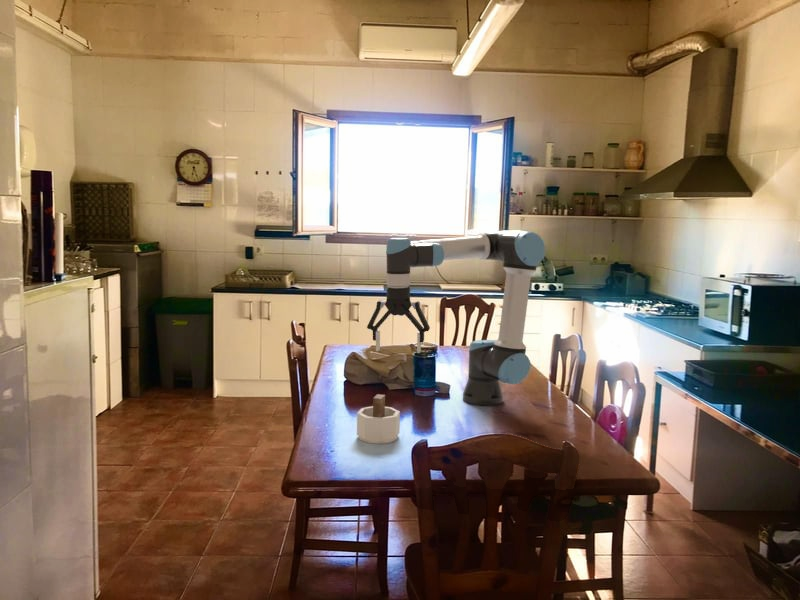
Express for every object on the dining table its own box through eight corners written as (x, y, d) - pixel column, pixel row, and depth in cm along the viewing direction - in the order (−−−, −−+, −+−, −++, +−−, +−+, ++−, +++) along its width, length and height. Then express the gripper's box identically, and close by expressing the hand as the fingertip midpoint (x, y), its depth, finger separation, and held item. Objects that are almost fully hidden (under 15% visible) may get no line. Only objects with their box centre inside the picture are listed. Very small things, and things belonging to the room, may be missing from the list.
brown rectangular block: (384, 431, 205) (385, 394, 204) (380, 436, 201) (381, 398, 199) (376, 430, 206) (377, 394, 204) (372, 435, 201) (373, 398, 200)
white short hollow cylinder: (401, 432, 208) (402, 408, 207) (393, 445, 196) (393, 420, 195) (364, 428, 211) (364, 404, 210) (353, 441, 199) (353, 416, 198)
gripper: (438, 285, 209) (438, 350, 212) (363, 284, 214) (363, 347, 217) (435, 288, 202) (434, 355, 205) (357, 286, 207) (358, 352, 210)
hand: (398, 351), depth 211 cm, fingers open, 13 cm apart
